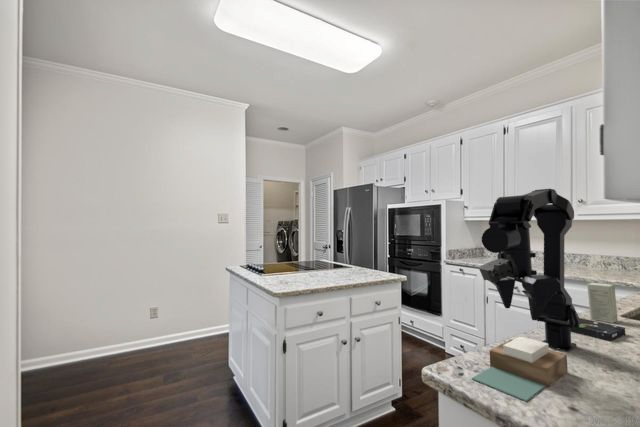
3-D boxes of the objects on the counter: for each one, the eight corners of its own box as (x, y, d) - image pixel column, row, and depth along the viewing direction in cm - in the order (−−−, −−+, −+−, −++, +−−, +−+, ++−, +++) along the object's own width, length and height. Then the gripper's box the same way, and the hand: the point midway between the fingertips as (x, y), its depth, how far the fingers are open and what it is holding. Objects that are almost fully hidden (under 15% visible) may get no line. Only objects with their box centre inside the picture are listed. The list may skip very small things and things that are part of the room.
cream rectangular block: (521, 344, 78) (520, 336, 78) (548, 352, 73) (548, 343, 73) (503, 353, 73) (503, 345, 73) (532, 362, 68) (531, 353, 68)
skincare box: (618, 321, 104) (616, 284, 104) (613, 323, 102) (611, 286, 102) (593, 316, 110) (591, 281, 110) (588, 318, 107) (586, 283, 108)
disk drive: (626, 336, 93) (567, 322, 106) (625, 327, 93) (567, 314, 106) (611, 344, 88) (551, 328, 101) (610, 334, 88) (551, 319, 101)
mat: (492, 367, 75) (492, 366, 75) (545, 386, 66) (545, 385, 66) (471, 379, 70) (471, 377, 70) (526, 401, 61) (526, 400, 61)
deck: (511, 354, 81) (511, 339, 81) (567, 372, 71) (566, 354, 72) (490, 366, 75) (489, 350, 75) (548, 387, 65) (547, 368, 65)
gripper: (463, 246, 83) (466, 305, 83) (509, 255, 64) (514, 330, 64) (503, 244, 83) (506, 302, 83) (561, 251, 65) (565, 326, 65)
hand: (520, 313), depth 74 cm, fingers open, 9 cm apart
